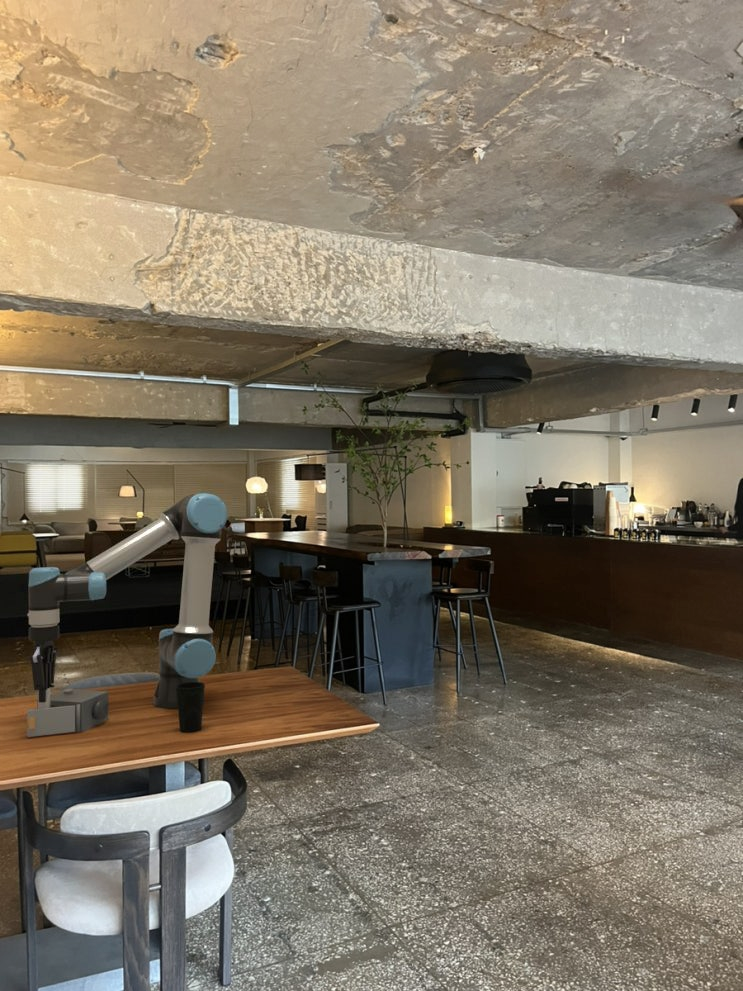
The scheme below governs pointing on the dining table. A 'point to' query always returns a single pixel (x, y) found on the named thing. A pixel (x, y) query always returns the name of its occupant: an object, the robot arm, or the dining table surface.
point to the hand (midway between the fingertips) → (44, 713)
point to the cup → (190, 705)
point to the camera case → (83, 706)
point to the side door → (50, 721)
